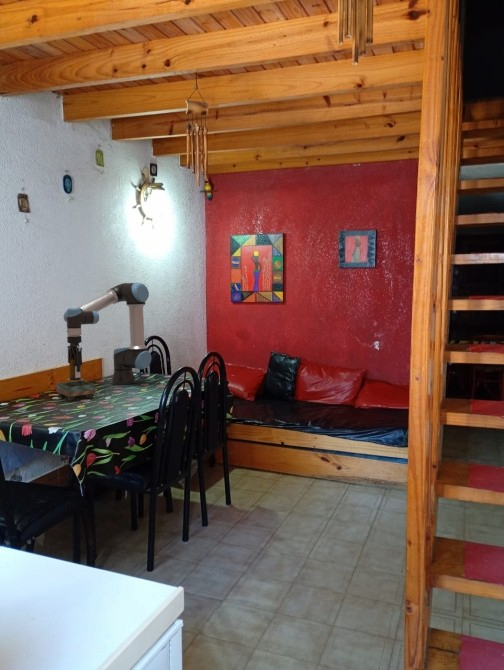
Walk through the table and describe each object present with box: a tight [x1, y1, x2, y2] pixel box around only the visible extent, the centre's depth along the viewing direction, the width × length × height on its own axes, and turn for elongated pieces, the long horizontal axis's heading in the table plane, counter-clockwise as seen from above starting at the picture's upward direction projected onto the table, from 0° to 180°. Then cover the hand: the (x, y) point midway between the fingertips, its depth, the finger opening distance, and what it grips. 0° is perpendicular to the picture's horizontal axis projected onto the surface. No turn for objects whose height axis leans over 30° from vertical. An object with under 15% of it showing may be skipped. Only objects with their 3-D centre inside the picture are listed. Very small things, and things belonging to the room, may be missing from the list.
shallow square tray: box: [56, 380, 96, 402], centre depth 298 cm, size 15×17×8 cm
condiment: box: [67, 358, 85, 382], centre depth 296 cm, size 7×8×12 cm
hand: (75, 376), depth 297 cm, fingers closed on condiment, 6 cm apart
